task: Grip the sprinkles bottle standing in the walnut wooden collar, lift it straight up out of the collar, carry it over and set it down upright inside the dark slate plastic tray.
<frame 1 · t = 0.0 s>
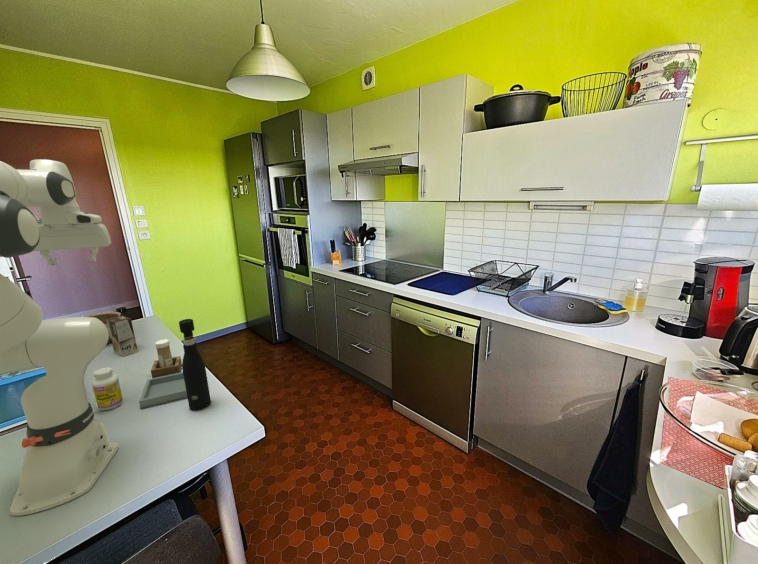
hand: (73, 263, 100), 48 cm above the table, fingers open, 8 cm apart
slate tray: (170, 391, 116), on the table
sprinkles bottle: (168, 372, 129), resting in walnut collar
supplement bottle: (111, 405, 108), on the table
walnut collar: (167, 372, 129), on the table
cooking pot: (103, 341, 159), on the table
coffee box: (126, 352, 147), on the table
black water bottle: (200, 405, 108), on the table
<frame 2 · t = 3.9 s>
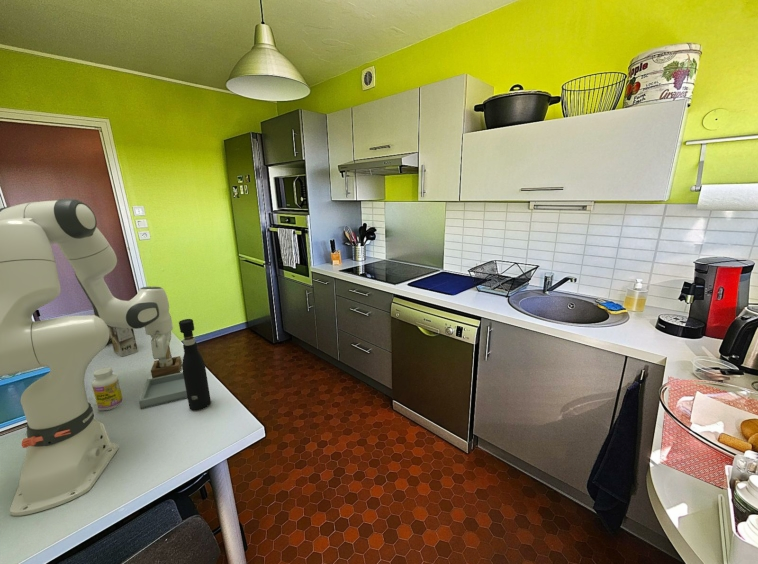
hand: (165, 359, 127), 6 cm above the table, fingers closed on sprinkles bottle, 4 cm apart
sprinkles bottle: (168, 372, 129), resting in walnut collar, touching gripper
everything else where it was.
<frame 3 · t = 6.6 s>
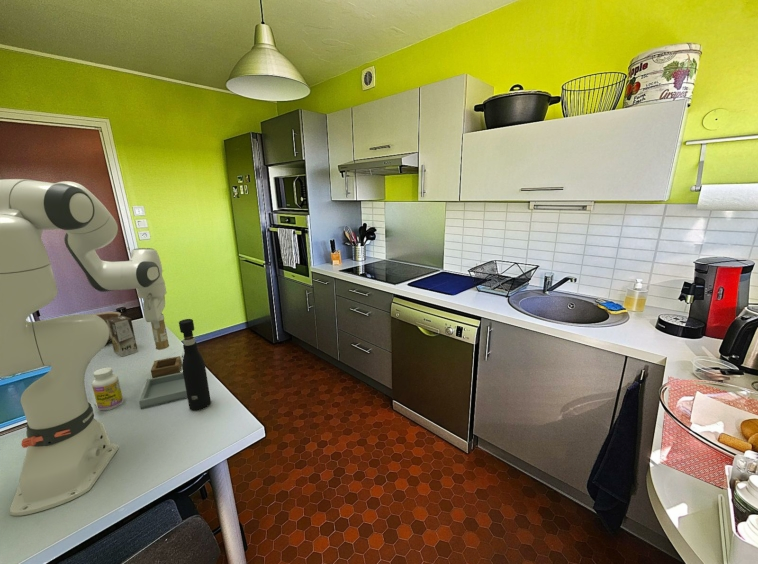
hand: (158, 325, 124), 20 cm above the table, fingers closed on sprinkles bottle, 4 cm apart
sprinkles bottle: (162, 348, 126), point 11 cm above the table, touching gripper
everything else where it was.
when the fingers open (8 cm above the table, at t = 11.8 s): sprinkles bottle stays where it is, resting on slate tray.
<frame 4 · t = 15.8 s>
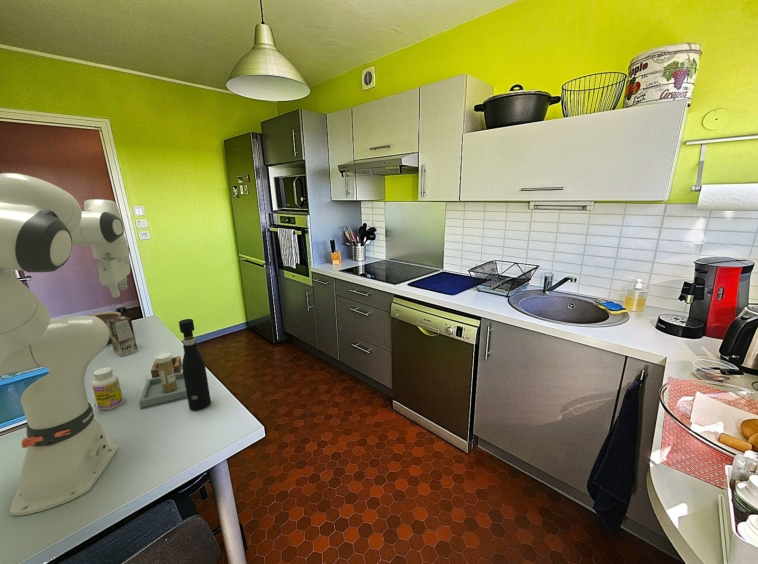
hand: (120, 293, 106), 37 cm above the table, fingers open, 8 cm apart
sprinkles bottle: (170, 389, 116), point 1 cm above the table, touching slate tray
everything else where it was.
at the end: sprinkles bottle inside the target area on the slate tray (0.2 cm from its centre), point 0.6 cm above the slate tray's base; sprinkles bottle tilted 0°; the gripper is holding nothing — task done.
